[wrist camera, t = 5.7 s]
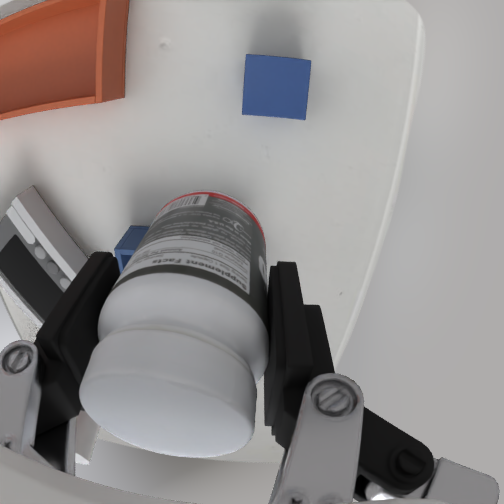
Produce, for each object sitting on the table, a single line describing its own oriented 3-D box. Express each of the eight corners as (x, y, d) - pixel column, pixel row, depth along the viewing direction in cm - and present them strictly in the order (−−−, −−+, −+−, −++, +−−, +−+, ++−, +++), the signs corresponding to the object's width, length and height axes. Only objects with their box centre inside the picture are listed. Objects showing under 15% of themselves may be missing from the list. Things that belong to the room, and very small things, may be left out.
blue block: (302, 63, 22) (311, 60, 18) (297, 113, 25) (305, 120, 21) (247, 58, 22) (245, 54, 18) (244, 109, 25) (241, 114, 21)
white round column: (62, 397, 50) (43, 444, 40) (79, 390, 48) (59, 442, 37) (93, 418, 54) (78, 464, 43) (112, 412, 51) (97, 464, 41)
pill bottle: (243, 298, 15) (235, 474, 7) (145, 268, 14) (76, 433, 7) (283, 209, 12) (314, 400, 5) (167, 171, 12) (51, 328, 4)
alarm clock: (114, 316, 32) (44, 355, 36) (125, 292, 36) (55, 334, 40) (16, 196, 25) (-35, 266, 28) (38, 182, 29) (-18, 249, 32)
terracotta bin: (130, -7, 18) (108, -18, 15) (124, 97, 24) (102, 102, 20) (-29, 47, 18) (-56, 51, 14) (-28, 125, 23) (-54, 136, 19)
